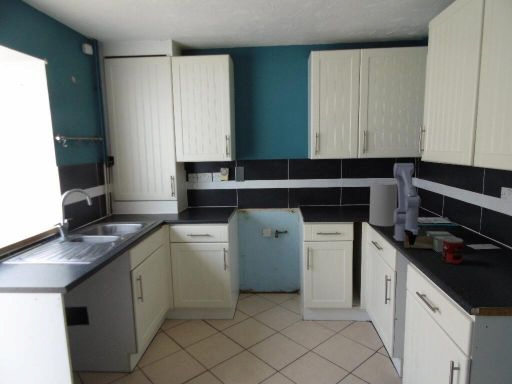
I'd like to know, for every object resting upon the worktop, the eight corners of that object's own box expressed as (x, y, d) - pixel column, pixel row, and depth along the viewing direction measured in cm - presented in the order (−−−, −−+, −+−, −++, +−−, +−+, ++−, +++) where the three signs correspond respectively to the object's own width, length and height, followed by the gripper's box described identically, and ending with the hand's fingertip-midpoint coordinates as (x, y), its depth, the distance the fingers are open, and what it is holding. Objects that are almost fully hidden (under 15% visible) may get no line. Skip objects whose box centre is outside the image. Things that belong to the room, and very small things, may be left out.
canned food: (443, 257, 159) (444, 235, 157) (462, 261, 154) (464, 238, 152) (440, 262, 153) (441, 239, 151) (460, 266, 148) (461, 242, 146)
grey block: (425, 244, 179) (425, 231, 178) (446, 244, 178) (447, 231, 176) (435, 253, 165) (436, 238, 164) (458, 253, 164) (459, 239, 163)
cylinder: (398, 226, 217) (400, 184, 213) (371, 225, 221) (372, 184, 217) (393, 220, 234) (394, 181, 230) (367, 219, 238) (368, 181, 234)
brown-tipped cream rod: (404, 246, 175) (404, 235, 174) (431, 247, 173) (432, 236, 172) (405, 247, 173) (405, 236, 172) (433, 248, 171) (434, 237, 170)
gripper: (424, 222, 164) (423, 248, 166) (415, 216, 178) (414, 240, 180) (410, 222, 165) (408, 248, 167) (401, 216, 179) (400, 240, 181)
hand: (410, 244), depth 173 cm, fingers closed on brown-tipped cream rod, 2 cm apart
